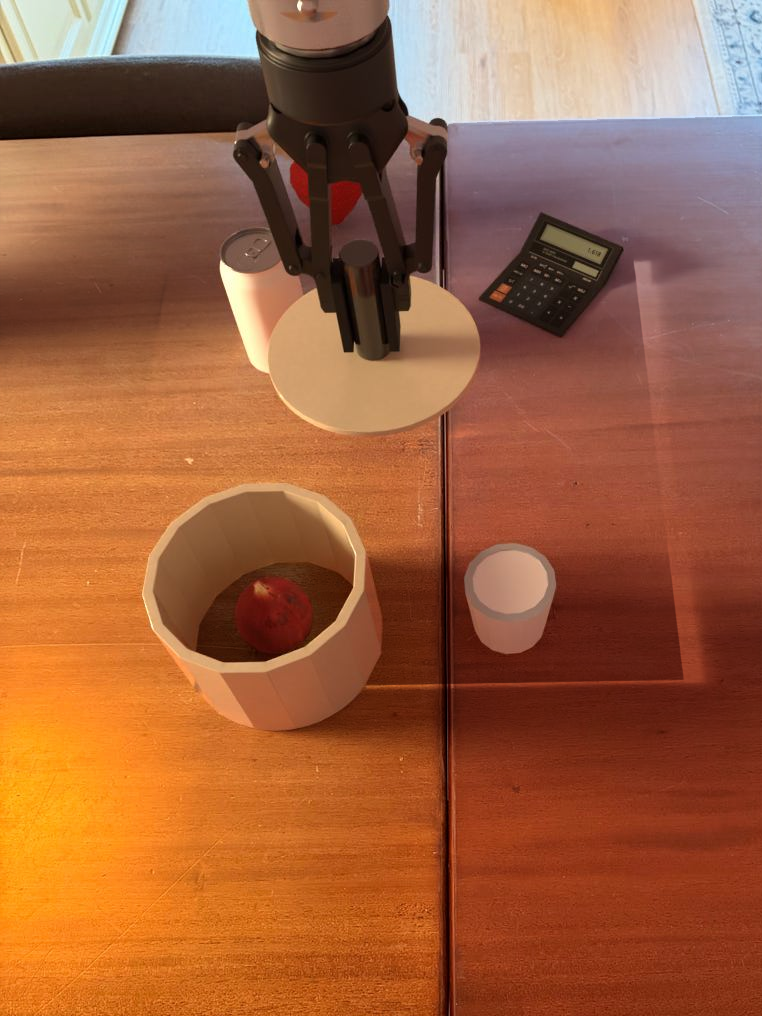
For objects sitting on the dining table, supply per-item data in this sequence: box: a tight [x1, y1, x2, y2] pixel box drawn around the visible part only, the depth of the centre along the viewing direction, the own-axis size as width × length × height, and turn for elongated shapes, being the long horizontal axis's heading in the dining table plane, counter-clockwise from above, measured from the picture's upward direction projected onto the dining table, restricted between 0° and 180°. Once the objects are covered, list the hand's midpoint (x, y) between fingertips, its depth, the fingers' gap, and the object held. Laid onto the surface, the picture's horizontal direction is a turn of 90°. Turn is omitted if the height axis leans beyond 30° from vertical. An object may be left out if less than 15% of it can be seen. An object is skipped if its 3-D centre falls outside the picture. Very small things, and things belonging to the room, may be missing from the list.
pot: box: [141, 482, 384, 732], centre depth 70 cm, size 16×16×10 cm
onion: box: [234, 575, 315, 655], centre depth 71 cm, size 6×6×8 cm
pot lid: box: [267, 238, 481, 438], centre depth 69 cm, size 17×17×10 cm
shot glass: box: [463, 542, 557, 655], centre depth 72 cm, size 7×7×7 cm
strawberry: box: [289, 160, 363, 226], centre depth 93 cm, size 6×8×10 cm
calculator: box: [478, 211, 625, 339], centre depth 91 cm, size 9×12×3 cm
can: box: [219, 225, 305, 374], centre depth 84 cm, size 6×6×12 cm
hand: (372, 338), depth 72 cm, fingers closed on pot lid, 3 cm apart
